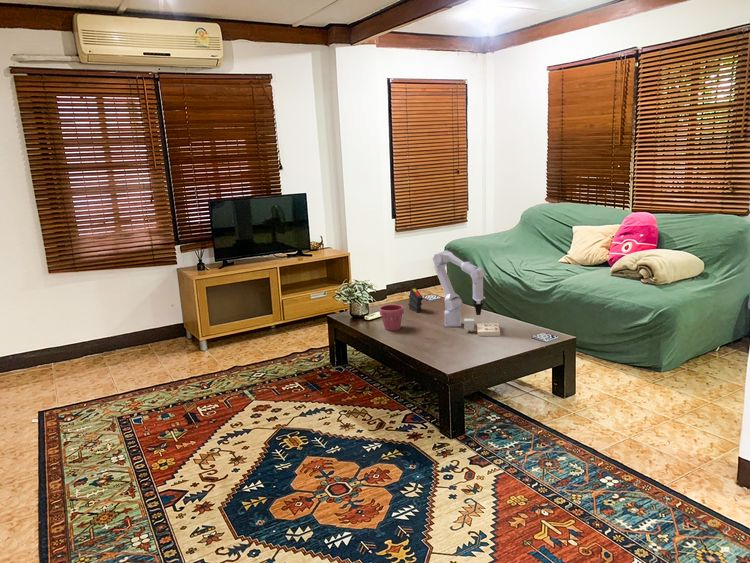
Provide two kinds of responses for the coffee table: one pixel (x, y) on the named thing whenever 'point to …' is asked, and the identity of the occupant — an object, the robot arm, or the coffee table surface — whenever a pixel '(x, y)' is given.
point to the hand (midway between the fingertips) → (478, 312)
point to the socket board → (488, 329)
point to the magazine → (415, 300)
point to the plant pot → (392, 316)
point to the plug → (468, 324)
